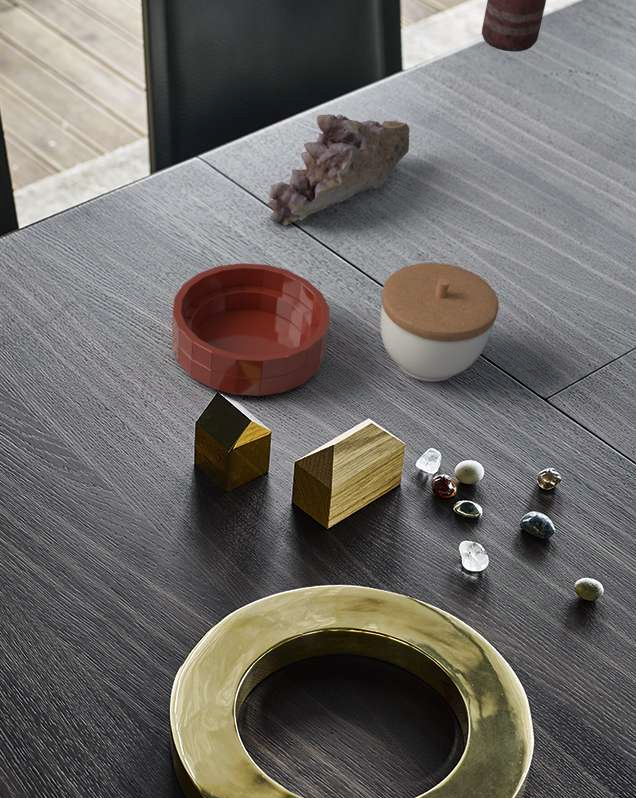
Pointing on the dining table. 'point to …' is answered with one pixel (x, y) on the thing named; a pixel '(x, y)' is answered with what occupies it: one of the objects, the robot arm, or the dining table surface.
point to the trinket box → (436, 319)
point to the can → (512, 23)
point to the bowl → (250, 329)
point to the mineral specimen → (340, 165)
